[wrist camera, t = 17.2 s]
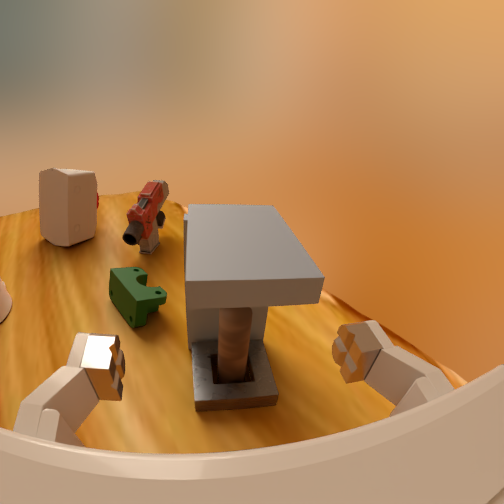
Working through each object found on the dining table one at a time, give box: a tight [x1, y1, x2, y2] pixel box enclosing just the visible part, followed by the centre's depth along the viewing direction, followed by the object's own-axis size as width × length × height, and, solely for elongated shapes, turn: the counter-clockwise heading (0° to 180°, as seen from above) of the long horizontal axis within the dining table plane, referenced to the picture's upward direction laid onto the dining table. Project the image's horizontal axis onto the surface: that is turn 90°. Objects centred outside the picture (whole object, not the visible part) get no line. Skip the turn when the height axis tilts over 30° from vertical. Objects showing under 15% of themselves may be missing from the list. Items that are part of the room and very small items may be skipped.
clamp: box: [109, 267, 167, 328], centre depth 47 cm, size 12×6×9 cm, turn 39°
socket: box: [192, 339, 279, 411], centre depth 37 cm, size 10×10×2 cm
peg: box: [218, 307, 253, 384], centre depth 34 cm, size 4×4×12 cm
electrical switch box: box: [39, 168, 99, 246], centre depth 68 cm, size 15×15×20 cm
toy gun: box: [123, 180, 169, 254], centre depth 65 cm, size 4×20×15 cm, turn 175°
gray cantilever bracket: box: [184, 204, 325, 349], centre depth 32 cm, size 11×16×21 cm
